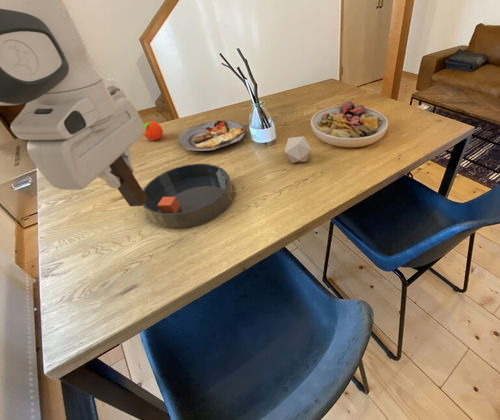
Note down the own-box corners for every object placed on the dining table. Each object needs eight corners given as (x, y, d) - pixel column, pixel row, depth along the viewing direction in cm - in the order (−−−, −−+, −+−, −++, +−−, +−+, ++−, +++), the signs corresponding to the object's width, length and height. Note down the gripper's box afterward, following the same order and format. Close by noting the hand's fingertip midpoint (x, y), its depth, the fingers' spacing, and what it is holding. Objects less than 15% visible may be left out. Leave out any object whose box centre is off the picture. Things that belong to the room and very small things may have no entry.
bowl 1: (202, 236, 70) (196, 222, 66) (129, 218, 75) (119, 204, 71) (247, 183, 86) (244, 170, 82) (184, 171, 91) (179, 158, 88)
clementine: (159, 144, 104) (151, 127, 100) (141, 144, 104) (132, 127, 100) (168, 134, 110) (161, 117, 105) (151, 134, 110) (143, 117, 106)
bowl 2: (392, 151, 100) (395, 131, 94) (309, 151, 100) (308, 131, 95) (380, 116, 122) (382, 98, 116) (312, 116, 122) (312, 99, 117)
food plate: (229, 120, 120) (227, 112, 118) (258, 138, 107) (256, 130, 105) (171, 139, 108) (167, 130, 105) (196, 162, 95) (192, 154, 93)
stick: (141, 206, 53) (98, 139, 44) (129, 206, 53) (83, 140, 44) (147, 198, 55) (107, 132, 46) (136, 198, 55) (93, 133, 46)
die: (304, 171, 92) (317, 143, 89) (279, 159, 89) (292, 131, 87) (301, 166, 100) (314, 140, 97) (279, 155, 97) (290, 129, 94)
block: (180, 206, 77) (175, 196, 75) (175, 214, 74) (170, 205, 72) (167, 206, 77) (162, 196, 75) (162, 214, 74) (157, 205, 72)
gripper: (99, 82, 49) (135, 151, 58) (-3, 133, 34) (67, 216, 43) (135, 82, 49) (165, 151, 58) (48, 133, 34) (107, 216, 43)
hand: (123, 179), depth 50 cm, fingers closed on stick, 2 cm apart
